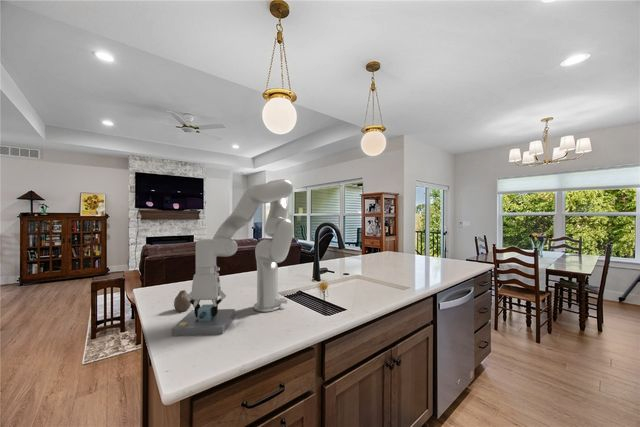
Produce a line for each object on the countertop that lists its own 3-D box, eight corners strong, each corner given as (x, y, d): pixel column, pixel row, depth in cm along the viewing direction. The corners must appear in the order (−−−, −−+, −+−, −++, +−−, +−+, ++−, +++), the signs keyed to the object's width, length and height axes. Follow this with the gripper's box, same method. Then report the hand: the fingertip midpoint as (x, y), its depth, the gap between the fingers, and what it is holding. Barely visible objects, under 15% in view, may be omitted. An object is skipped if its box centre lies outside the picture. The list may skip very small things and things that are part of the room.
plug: (214, 321, 107) (214, 304, 107) (207, 329, 99) (207, 311, 99) (203, 321, 106) (203, 304, 106) (195, 330, 98) (195, 311, 98)
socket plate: (234, 314, 113) (234, 307, 113) (222, 333, 95) (222, 324, 95) (192, 315, 112) (192, 308, 112) (171, 335, 94) (171, 326, 94)
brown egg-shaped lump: (170, 312, 116) (170, 292, 116) (183, 306, 123) (183, 288, 123) (182, 314, 114) (181, 294, 114) (194, 308, 121) (194, 289, 121)
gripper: (230, 268, 108) (230, 311, 108) (187, 268, 107) (187, 312, 107) (225, 272, 101) (225, 318, 101) (179, 273, 99) (179, 320, 99)
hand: (206, 315), depth 104 cm, fingers open, 5 cm apart
